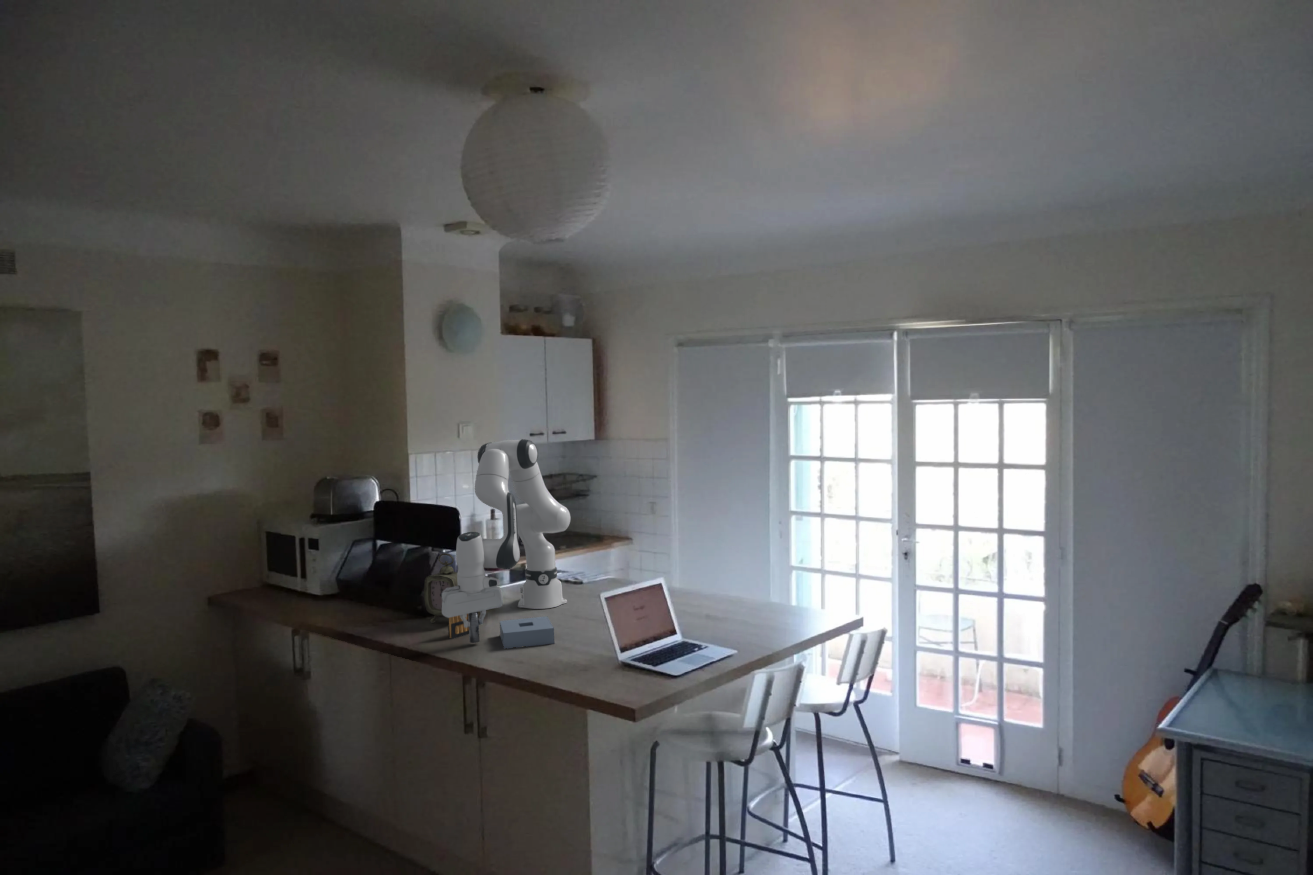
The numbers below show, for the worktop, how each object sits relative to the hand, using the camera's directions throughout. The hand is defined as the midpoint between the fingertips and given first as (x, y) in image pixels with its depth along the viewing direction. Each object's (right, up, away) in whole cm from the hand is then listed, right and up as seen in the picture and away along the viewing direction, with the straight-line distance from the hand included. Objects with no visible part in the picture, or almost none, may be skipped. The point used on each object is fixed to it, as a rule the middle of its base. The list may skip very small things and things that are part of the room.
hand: (473, 625), depth 274 cm
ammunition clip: (-6, -6, +13) cm, 16 cm away
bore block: (+16, -6, +4) cm, 18 cm away
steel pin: (0, -5, 0) cm, 5 cm away
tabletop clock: (-15, -6, +30) cm, 34 cm away
